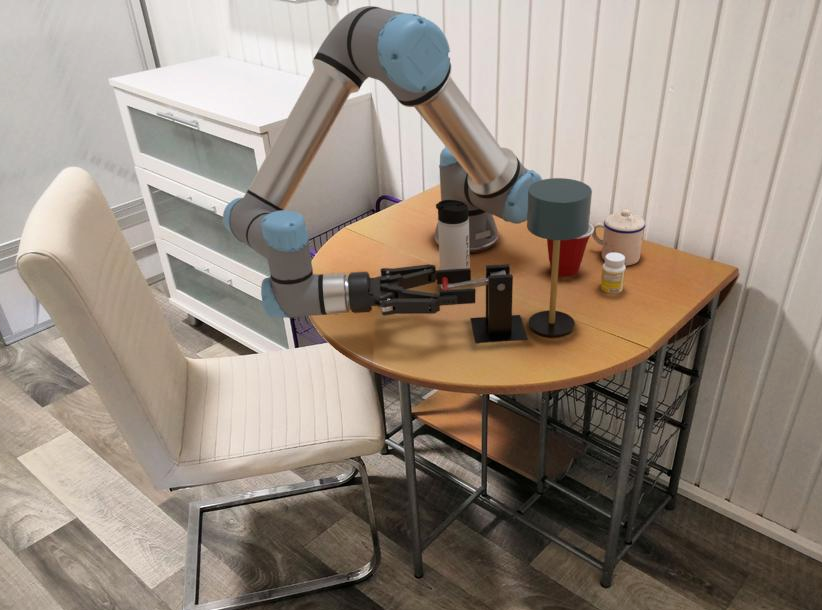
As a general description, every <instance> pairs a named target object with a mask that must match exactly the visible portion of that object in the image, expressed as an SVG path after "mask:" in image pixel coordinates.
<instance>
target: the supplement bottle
mask: <svg viewBox="0 0 822 610" xmlns="http://www.w3.org/2000/svg"><path fill="white" fill-rule="evenodd" d="M624 263H625V256H624V255H622V254H620V253H608V254H607V255H606V256H605V260H604V263H603V265H602V269H601V280H600V289H601V291H603V292H605V293H607V294H619V293H621V292H623V291H624V286H625V278H626V277H625V276H626V269H627V268H626V267H627V266H625V265H624Z"/></svg>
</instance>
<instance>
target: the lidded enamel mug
mask: <svg viewBox="0 0 822 610" xmlns="http://www.w3.org/2000/svg"><path fill="white" fill-rule="evenodd" d="M593 227H594V231H593V233H592V235H591V237H592V239H593V240H594V241H595V242H596V243H597V244H599V245H601V246H602V247H601V258H602V260H603V261H605V256H606V255H607V254H608V253H620V254H622V255H624V256H625V263H624V265H625V267H627V266H632V265H635V264H637V263H638V262H639V261H640V259H641V253H642V244H643V239H644V238H643V237H644V229H645V228H646V222H645V219H644V218H642V217H641V216H640V215H638V214H634V213H631V209H628V208H624V209H622V210H621V212H616V213H611V214H609V215H608V216H606V217H605V218H604V221H603V222H597V223H595V224H593ZM597 228H602V229H603V238H602V239H601V238H599V236H598V235H597Z"/></svg>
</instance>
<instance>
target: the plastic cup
mask: <svg viewBox="0 0 822 610" xmlns="http://www.w3.org/2000/svg"><path fill="white" fill-rule="evenodd" d="M593 226H594V224H592V223H590V222H589V229H588V231H587V233H586V234H584V235H583V236H581V237H578V238H575V239H570V240H560V250H559V266H558V277H563V278H570V277H574V276H576V275H578V274H579V273H580V272H579V271H580V269H581V264H582V262H583V258H584V256H585V250H586V248H587V245H588V242H589V239H590V237H591V236H592V233H593V231H594V227H593ZM546 243H547V244H546V245H547V252H548V254H547V255H548V262H549V267H550V273H551V274H552V257H553V240H550V239H546Z"/></svg>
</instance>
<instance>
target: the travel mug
mask: <svg viewBox="0 0 822 610" xmlns="http://www.w3.org/2000/svg"><path fill="white" fill-rule="evenodd" d="M435 209H436V210H437V223H438V233H439V246H438V252H439V253H438V255H439V270H450V269H466V268H470V269H471V266H470V253H469V215H468V213H469V212H468V206H467V205H466V204H464V203H463V202H461V201H457V200H443V201H441V200H440V201H439V202H437V203H436V204H435ZM440 288H441V290H443V286H442V284H441V285H440Z"/></svg>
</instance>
